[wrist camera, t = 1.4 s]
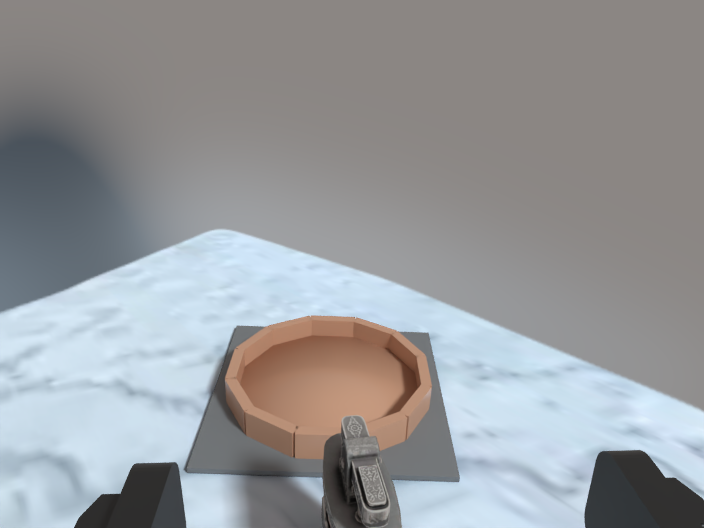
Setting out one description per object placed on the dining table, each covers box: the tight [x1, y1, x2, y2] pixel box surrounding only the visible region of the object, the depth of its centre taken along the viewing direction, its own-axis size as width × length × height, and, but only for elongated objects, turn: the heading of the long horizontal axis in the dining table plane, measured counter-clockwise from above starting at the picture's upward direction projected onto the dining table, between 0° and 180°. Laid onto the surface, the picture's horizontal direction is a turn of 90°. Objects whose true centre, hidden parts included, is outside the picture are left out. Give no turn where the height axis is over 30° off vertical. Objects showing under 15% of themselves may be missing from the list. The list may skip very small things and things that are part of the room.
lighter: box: [322, 415, 402, 528], centre depth 29 cm, size 8×3×10 cm, turn 11°
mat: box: [187, 326, 460, 482], centre depth 46 cm, size 18×18×1 cm
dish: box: [225, 316, 432, 459], centre depth 46 cm, size 16×16×2 cm
